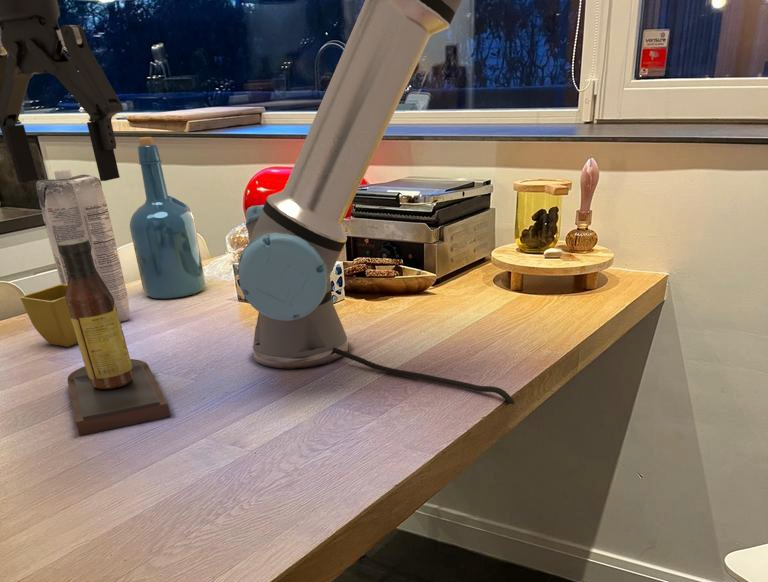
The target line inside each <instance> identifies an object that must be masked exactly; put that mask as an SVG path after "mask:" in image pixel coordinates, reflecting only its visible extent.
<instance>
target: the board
mask: <svg viewBox="0 0 768 582" xmlns="http://www.w3.org/2000/svg"><path fill="white" fill-rule="evenodd" d="M130 360H131V363H132V370H133V375H134V378H133V380H132V382H130V383H128V384H126V385H124V386H122V387H118V388H114V389H98V388H95V387H93V386H92V385H91V381H90V378H89V377H88V374H87V371H86V367H85V365H83V366H82V367H79V368H77V369H76V370H73V371H72V372H70V374H69V375H68V376H67V378H66V379H67V386H68V390H69V395H70V400H71V401H70V402H71V406H72V411H73V415H74V420H75V424H76V428H77V432H78V435H79V436H80V437H81V436H86V435H91V434H94V433H95V434H96V433H100V432H104V431H109V430H114V429H118V428H124V427H128V426H129V427H130V426H133V425H138V424H143V423H147V422H152V421H157V420H163V419H166V418H171V414H170V413H171V412H170V407H169V404H168V402H167V399H166V398H165V396H164V393H163V391H162V389H161V388H160V385H159V384H158V382H157V379H156V377H155V376H154V374H153V371H152V370H151V367H150V365H149V364H148V363H147V362H146V361H143V360H141V359H134V358H130Z"/></svg>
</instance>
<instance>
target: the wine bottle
mask: <svg viewBox="0 0 768 582" xmlns="http://www.w3.org/2000/svg"><path fill="white" fill-rule="evenodd" d="M138 143H139V145H138V146H137V155H138V165H140V170H141V175H142V182H143V189H144V193H145V202H144V203H143V204H142V205H141V206H139V207H138V208H137V209H136V210H135V211H134V212H133V214H132V215H131V217H130V221H129V231H130V235H131V241H132V244H133V249H134V254H135V258H136V262H137V268H138V273H139V276H140V281H141V286H142V291H143V293H144V294H145V295H146V296H147V297H149V298H153V299H158V300H159V299H161V300H162V299H163V300H169V299H170V300H171V299H179V298H185V297H189V296H193V295H196V294H197V293H199V292H201V291H203V290H205V286H206V279H205V278H206V277H205V273H204V268H203V262H202V256H201V250H200V244H199V239H198V233H197V228H196V223H195V218H194V216H193V214H192V213H193V212H192V209H191V207H190V206H189V205H188V204H187V203H185V202H183V201H181V200H179V199H177V198H175V197H173V196H171V195H169V193H168V189H167V184H166V180H165V176H164V171H163V167H162V159H161V154H160V152H159V149H158V145H157V144H155V142H154V138H153V137H152V136H143V137H140V138H138Z"/></svg>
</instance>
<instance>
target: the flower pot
mask: <svg viewBox="0 0 768 582" xmlns="http://www.w3.org/2000/svg"><path fill="white" fill-rule="evenodd" d="M67 286H68V285H65V284H61V283H60V284H57V285H53V286H50V287H47V288H43V289H41V290H38V291H35V292H31V293H28V294H25V295H22V296H20V300H21V302H22V303H21V304H22V305H23V307H24V310H25V311H26V314H27V315H28V318H29V320H30V322H31V324H32V326H33V327H34V328H35V329H34V330H36V331H37V333H38V334H39V335H40V336H41V337H42V338H43V339H44V340H45V341H46V342H48V343H49V344H50V345H55V346H60V347H65V348H69V347H71V346H74V345H76V344H78V341H77V338H76V334H75V331H74V328H73V324H72V321H71V318H70V316H71V315H70V312H69V308H68V305H67V302H66V297H65V293H66V289H67Z"/></svg>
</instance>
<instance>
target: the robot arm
mask: <svg viewBox="0 0 768 582" xmlns="http://www.w3.org/2000/svg"><path fill="white" fill-rule="evenodd" d="M462 1H463V0H365V1H364V2H363V5H362V7H361V9H360V11H359V14H358V16H357V18H356V20H355V23H354V26H353V28H352V30H351V33H350V35H349V37H348V40H347V42H346V44H345V46H344V49H343V50H342V53H341V56H340V58H339V61H338V63H337V65H336V67H335V70H334V72H333V74H332V77H331V79H330V81H329V84H328V86H327V88H326V91H325V93H324V95H323V97H322V100H321V103H320V104H319V107H318V109H317V112H316V114H315V116H314V119H313V121H312V123H311V126H310V127H309V130H308V133H307V135H306V137H305V140H304V141H303V144H302V147H301V149H300V151H299V154H298V156H297V158H296V161H295V163H294V165H293V167H292V169H291V172H290V175H289V177H288V180H287V181H286V183H285V186H284V188H283V189H282V190H280V191H278V192H275V193H272V194H269V195H267V197H266V200H265V202H264V204H261V205H251V206H250V207H248V208H247V209H246V211H245V224H244V225H245V228H246V230H247V235H248V242H247V244H246V247H245V248H244V249H243V250H242V252H241V255H240V257H239V259H238V265H237V267H238V269H237V275H238V281H239V286H240V289H241V292H242V294H243V297H244V298H245V300H246V301H247V302H248V303H249V305H250V306H251V307H252V308H253V309H254V310H256V311H257V313H258V314H257V320H256V324H255V329H254V337H253V344H252V351H253V357H254V360H255V362H257V363H259V364H260V365H263V366H266V367H270V368H275V369H303V368H304V369H305V368H311V367H316V366H320V365H325V364H328V363H332V362H334V361H336V360H338V359H340V358H342V357H344V358H347V359H349V360H352V361H355V362H357V363H359V364H362V365H364V366H365V367H368V368H371V369H374V370H376V371H380V372H384V373H387V374H391V375H396V376H400V377H408V378H413V379H418V380H423V381H427V382H432V383H433V382H434V383H438V384H443V385H448V386H453V387H458V388H461V389H467V390H470V391H474V392H481V393H495V394H497V395H499V396H500V397H502V398H503V399H504V400H505V402H506V403H507V404H509V405H515V404H516V402H515V401H514V398H513V397H511V395H510V394H509V393H508V392H507V391H505V390H504V389H502V388H500V387H498V386H491V385H478V384H473V383H471V382H470V383H469V382H466V381H460V380H456V379H450V378H447V377H446V378H445V377H440V376H436V375H430V374H426V373H420V372H414V371H409V370H402V369H398V368H393V367H388V366H385V365H381V364H378V363H375V362H372V361H371V360H368V359H365V358H363V357H360V356H359V355H356V354H353V353H350V352H348V350H349V342H348V336H347V333H346V331H345V329H344V326H343V324H342V321H341V319H340V317H339V314H338V312H337V309H336V307H335V305H334V302H333V293H332V282H331V274H332V272H333V270H334V268H335V266H336V264H337V261H338V259H339V257H340V256H341V253H342V251H343V248H344V246H345V244H346V242H347V240H348V237H347V233H346V230H345V227H344V220H345V217H346V216H347V214H348V211H349V209H350V207H351V205H352V203H353V201H354V198H356V197H355V196H356V194H357V193H358V190H359V188H360V187H361V185H362V181H363V180H364V178H365V175H366V173H367V171H368V169H369V167H370V164H371V163H372V160H373V158H374V156H375V154H376V152H377V150H378V148H379V146H380V144H381V142H382V139H383V138H384V135H385V133H386V131H387V130H388V127H389V125H390V124H391V123H390V122H391V120H392V118H393V116H394V114H395V112H396V110H397V107H398V105H399V103H400V101H401V99H402V97H403V95H404V94H405V91H406V89H407V86H408V84H409V82H410V80H411V78H412V76H413V75H414V72H415V70H416V67H417V65H418V63H419V61H420V59H421V57H422V55H423V53H424V50H425V48H426V46H427V44H428V42H429V40H430V37H432V36H433V35H435V34H437V33H440V32H442V31H445V30H447V29H449V28H450V26H451V24H452V21H453V20H454V17H455V15H456V14H457V11H458V10H459V7H460V5H461V3H462ZM60 17H61V11H60V7H59V3H58V0H0V131H1V134H2V135H1V136H2V138H3V141H4V145H5V149H6V151H7V153H8V154H9V155H10V156H11V160H12V164H13V168H14V171H15V175H16V177H17V181H18V183H22V184H23V183H28V182H33V181H39V175H38V172H37V169H36V165H35V161H34V158H33V154H32V150H31V147H30V142H29V139H28V136H27V132H26V129H25V125H24V124H22V121H21V120H20V119H19V118H20V115H21V111H22V106H23V104H24V100H25V96H26V92H27V89H28V85H29V82H30V79H32V78H33V77H34V75H41V74H50V75H51V76H54V77H56V78H57V80H58V81H59V82H60V83H61V84H62V86H64V88H65V89H66V90H67V92H68V93H69V94H70V95H71V96H72V97H73V98H74V99H75V101H76V102H77V103H78V104H79V105H80V107H81V108H82V109H83V110H84V111H85V112H86V114H87V115H88V116H89V118H88V122H86V125H87V130H88V133H89V137H90V142H91V146H92V150H93V155H94V158H95V163H96V167H97V173H98V176H99V180H100V182H107V181H111V180H116V179H120V177H121V176H120V172H119V167H118V164H117V159H116V154H115V150H116V149H117V142H116V137H115V132H114V127H113V123H112V119H113V117H114V116H116V115H117V114H119V113H122V112H123V110H124V107H123V103H122V102H121V100H120V98H119V96H118V95H117V93H116V91H115V90H114V88H113V86H112V85H111V83H110V81H109V80H108V78H107V76H106V74H105V73H104V71H103V69H102V67H101V66H100V64H99V62H98V61H97V59H96V57H95V56H94V54H93V52H92V49H90V47H89V45H88V41H87V37H86V34H85V31H84V28H83V27H82V25H80V24H62V25H61V27H60V25H59V22H58V19H59V18H60ZM64 48H65V49H66V51H67V53H68V54H67V53H66V52H65V50H64Z"/></svg>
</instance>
